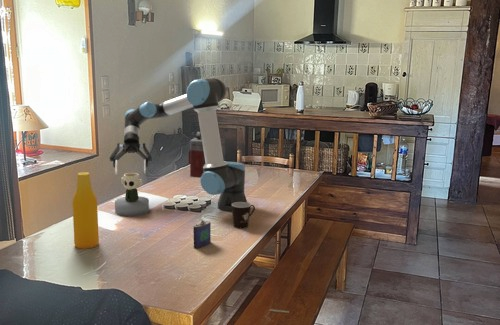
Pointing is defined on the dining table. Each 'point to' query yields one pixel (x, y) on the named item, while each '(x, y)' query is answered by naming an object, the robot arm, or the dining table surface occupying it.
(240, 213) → the coffee mug
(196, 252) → the dining table surface
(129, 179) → the character mug
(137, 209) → the plinth
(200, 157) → the glass decanter
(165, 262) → the dining table surface
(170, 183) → the dining table surface
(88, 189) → the beer bottle
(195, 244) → the flask
